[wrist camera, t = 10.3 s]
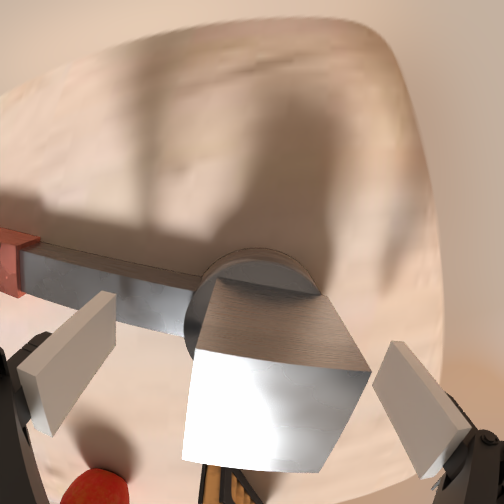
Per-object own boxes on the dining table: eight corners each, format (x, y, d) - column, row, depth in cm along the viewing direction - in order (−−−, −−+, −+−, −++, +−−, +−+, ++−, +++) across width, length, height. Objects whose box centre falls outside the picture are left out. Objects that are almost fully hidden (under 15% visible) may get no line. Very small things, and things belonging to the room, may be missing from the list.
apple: (114, 455, 21) (88, 518, 13) (151, 491, 22) (136, 550, 15) (68, 456, 21) (41, 508, 14) (105, 491, 23) (86, 541, 15)
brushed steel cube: (202, 368, 15) (182, 459, 9) (217, 276, 14) (195, 348, 8) (299, 383, 15) (318, 472, 9) (327, 296, 14) (371, 371, 8)
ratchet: (-33, 280, 17) (-85, 308, 11) (-36, 193, 15) (-97, 205, 9) (300, 368, 18) (319, 444, 12) (332, 261, 17) (376, 310, 10)
